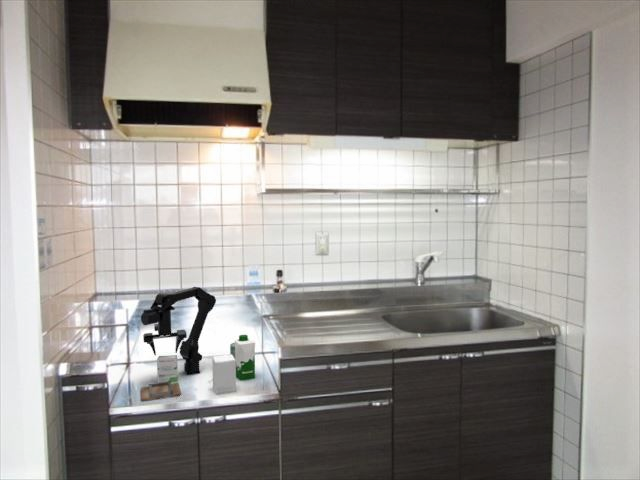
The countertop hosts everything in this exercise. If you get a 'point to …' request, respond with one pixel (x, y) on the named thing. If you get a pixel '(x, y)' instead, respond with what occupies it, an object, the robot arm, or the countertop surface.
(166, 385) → the base plate
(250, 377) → the milk carton
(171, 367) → the ink box
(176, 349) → the robot arm
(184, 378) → the countertop surface
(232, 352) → the canned tomato
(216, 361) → the supplement box
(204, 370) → the countertop surface
